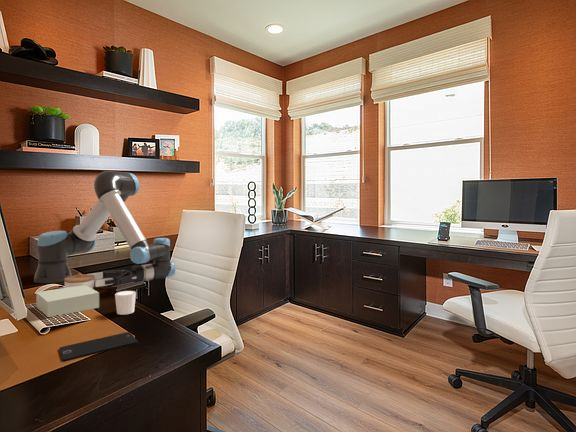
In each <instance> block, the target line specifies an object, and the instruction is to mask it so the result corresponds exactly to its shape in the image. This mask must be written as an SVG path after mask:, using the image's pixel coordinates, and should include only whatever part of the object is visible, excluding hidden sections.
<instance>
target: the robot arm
mask: <svg viewBox="0 0 576 432" xmlns="http://www.w3.org/2000/svg"><path fill="white" fill-rule="evenodd" d="M93 188H94V193H95V195H96V197H97V199H98V200H97V201H96V202H95V204H94V206H93V207H92V208H91V209H90V210H89V211H88V213H87V214H86V216H85V217H84V218H83V220H82V221H81V222H80V224H76V225H75V226H73V228H72V229H71V230H70V231H69V232H68V231H66V230H55V231H48V232H44V233H41V234H39V235H38V236H37V237H38V238H37V253H38V254H37V260H38V265H37V268H36V271H35V273H34V277H33V283H36V284H54V283H55V284H56V283H61V282H65V281H64V279H65V278H66V277H69V276H73V273H72V271H71V269H70V266H69V264H68V257H69V256H75V255H80V254H86V253H88V252H90V251H92V250H93V249H94V248H95V247H96V244H97V242H96V241H97V233H98V231H99V230H100V229H101V228H102V226H103V225H104V224H105V222H106V221H107V220H108V218H109V217H110V216H111V218H112V219H113V221H114V222H115V224H116V227H117V228H118V230H119V231H120V233H121V234H122V236H123V238H124V239H125V242H126V243H127V245H128V246H129V248H130V252H129V258H130V261H132V263H134V264H135V265H133V266H132V267H131V268H130V270H128V269H121V270H120V269H117V270H116V269H115V270H102V271H101V272H93V273H89V274H90V275H94V276H95V278H94V287H96V288H98V287H99V288H100V287H105V286H111V285H117V286H120V285H122V284H126V283H129V282H133V283H139V282H145V281H146V282H149V281H153V280H159V279H167V278H170V277H173V276H175V274H176V264H175V263H174V262H173V261H171V240H170V238H167V237H157V238H154V239H153V243H150V244H149V241H148V240H147V239H146V237H145V235H144V233H143V232H142V229H140V226H139V225H138V224H137V221H136V220H135V218H134V216H133V215H132V212H130V210H129V207H127V204H126V203H125V202H126V200H127V199H129V197H133V196H135V195H137V194H138V192H139V190H140V181H139V178H138V177H137V176H136V175H135V174H134V173H131V172H127V171H124V172H123V171H114V170H104V171H102V172H99V174H98V175H97V176H96V177H95V178H94V183H93ZM151 261H153V263H149V262H151ZM147 263H148V264H147ZM137 264H138V265H137ZM140 264H141V265H140Z"/></svg>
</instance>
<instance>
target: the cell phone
mask: <svg viewBox="0 0 576 432" xmlns="http://www.w3.org/2000/svg"><path fill="white" fill-rule="evenodd" d="M136 344H138V340H137V338H136V337H135V336H134V335H133V334H132V333H131V332H130V331H127V332H122V333H117V334H113V335H108V336H104V337H99V338H95V339H91V340H86V341H85V340H84V341H81V342H77V343H74V344H68V345H64V346H60V347H59V348H58V349H59V354H60V356H61V357H60V358H61V361H62V362H67V361H72V360H76V359H80V358H85V357H88V356H92V355H96V354H99V353H105V352H108V351H112V350H116V349H120V348H124V347H128V346H133V345H136Z"/></svg>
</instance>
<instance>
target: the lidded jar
mask: <svg viewBox="0 0 576 432" xmlns="http://www.w3.org/2000/svg"><path fill="white" fill-rule="evenodd" d="M90 274H91V273H87V274H86V273H84V274H82V273H81V272H78V274H72V276H69V277H66V278H65V279H64V281H63V282H64V288H66V287H73V286H79V285H86V286H88V287H90V288H92V289H94V287H95V280H94V278H95V276H94V275H90Z"/></svg>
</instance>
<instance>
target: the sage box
mask: <svg viewBox="0 0 576 432" xmlns="http://www.w3.org/2000/svg"><path fill="white" fill-rule="evenodd" d="M35 295H36V296H35V297H36V308H37V309H38V310H39V311H40V312H41V311H42V312H43V313H44V314H45V315H46V316H47V317H51V316H56V315H61V316H64V315H63V314H66V315H69V313H71V314H74V312H75V313H78V312H79V313H81V312H83V311H89V310H93V309H94V310H95V309H99V308H100V292H98V291H97V290H95V289H94V288H93V289H92V288H90V287H88V286H86V285H79V286H73V287H66V288H65V287H62V288H55V289H48V290H42V291H36V294H35ZM42 312H41V313H42ZM43 313H42V314H43ZM44 314H43V315H44ZM45 315H44V316H45ZM46 316H45V317H46ZM47 317H46V318H47ZM56 317H57V316H56Z"/></svg>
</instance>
